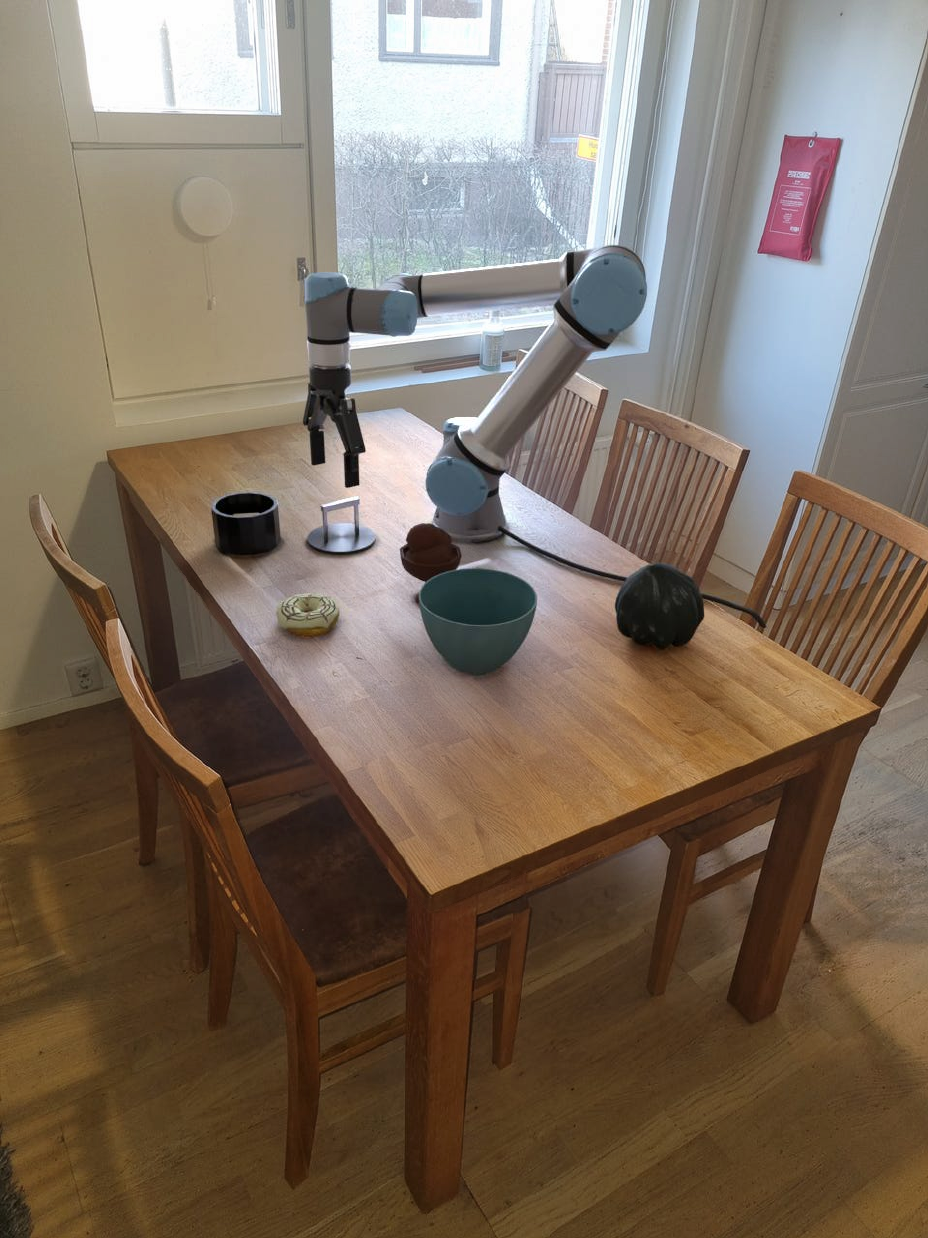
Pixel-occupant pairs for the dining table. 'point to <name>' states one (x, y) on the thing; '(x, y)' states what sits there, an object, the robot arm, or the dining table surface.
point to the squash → (659, 606)
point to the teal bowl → (477, 617)
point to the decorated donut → (308, 614)
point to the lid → (341, 532)
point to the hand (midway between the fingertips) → (334, 474)
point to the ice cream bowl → (429, 553)
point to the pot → (246, 523)
